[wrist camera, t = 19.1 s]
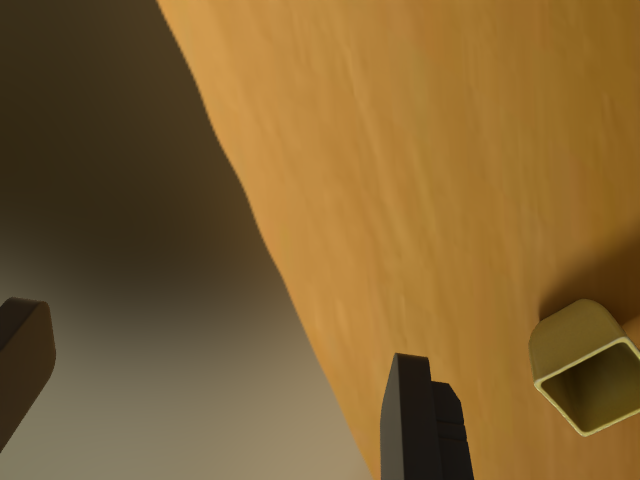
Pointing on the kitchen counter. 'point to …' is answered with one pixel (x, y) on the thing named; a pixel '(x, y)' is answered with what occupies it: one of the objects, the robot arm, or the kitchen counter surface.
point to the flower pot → (586, 366)
